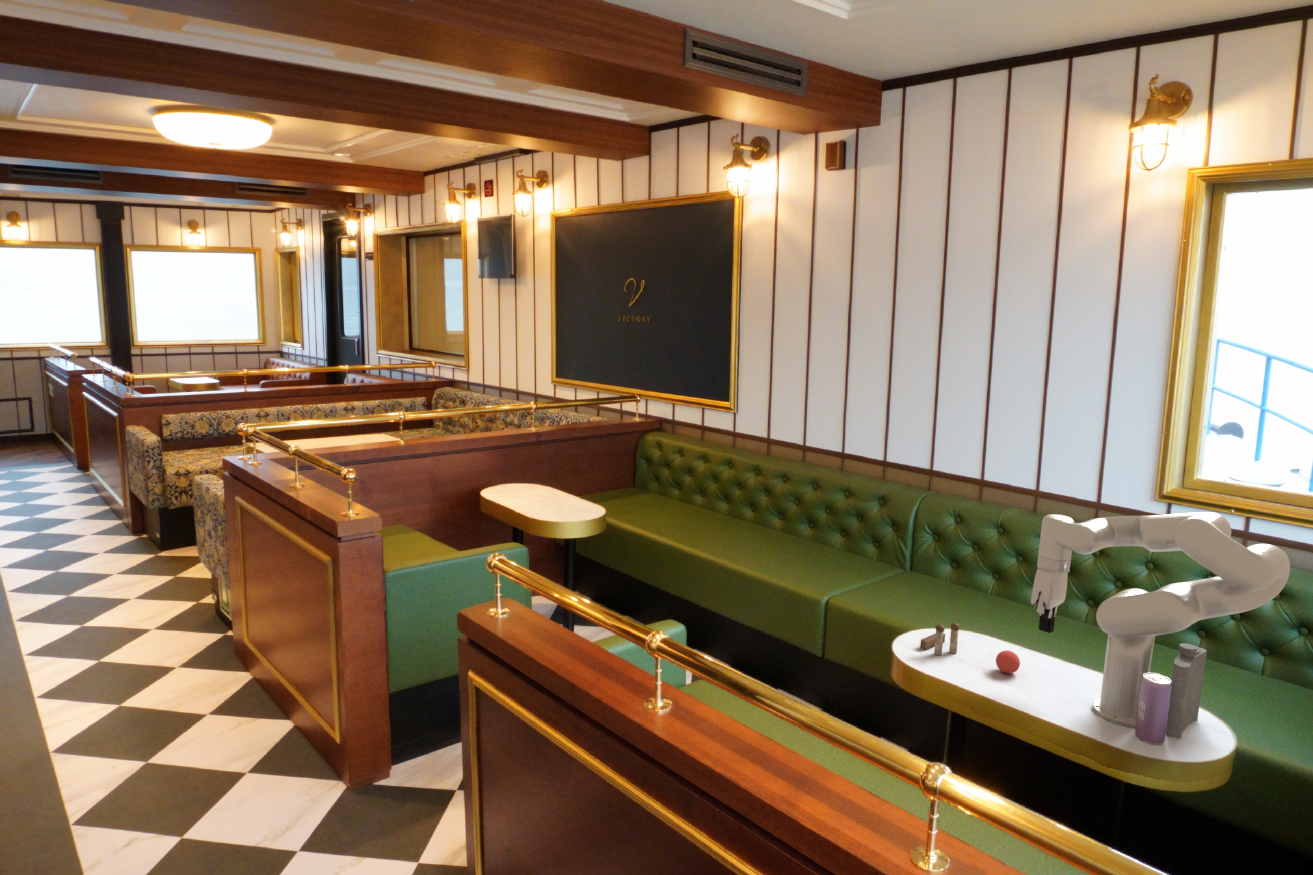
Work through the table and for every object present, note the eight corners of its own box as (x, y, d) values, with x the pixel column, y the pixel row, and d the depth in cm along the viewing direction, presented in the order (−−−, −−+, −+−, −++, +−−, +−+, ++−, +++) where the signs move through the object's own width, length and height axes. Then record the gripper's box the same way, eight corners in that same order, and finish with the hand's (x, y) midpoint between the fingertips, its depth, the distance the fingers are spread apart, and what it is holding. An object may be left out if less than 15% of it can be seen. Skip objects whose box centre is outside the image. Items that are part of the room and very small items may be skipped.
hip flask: (1178, 739, 188) (1189, 658, 184) (1158, 732, 190) (1169, 652, 187) (1199, 717, 198) (1209, 639, 195) (1180, 711, 201) (1190, 634, 198)
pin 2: (956, 651, 234) (959, 621, 232) (957, 654, 231) (960, 624, 230) (948, 650, 234) (950, 620, 233) (948, 653, 232) (951, 623, 231)
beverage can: (1170, 746, 185) (1178, 684, 182) (1143, 745, 185) (1151, 683, 182) (1154, 732, 191) (1162, 672, 188) (1129, 731, 191) (1136, 671, 188)
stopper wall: (944, 641, 240) (945, 633, 240) (926, 650, 234) (927, 641, 234) (938, 639, 242) (939, 631, 241) (920, 647, 236) (920, 639, 235)
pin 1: (942, 652, 232) (944, 623, 231) (942, 656, 230) (945, 626, 229) (933, 651, 233) (935, 622, 232) (933, 655, 231) (936, 625, 229)
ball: (1016, 668, 223) (1018, 648, 222) (1020, 678, 217) (1022, 657, 216) (993, 666, 224) (995, 645, 223) (996, 675, 219) (998, 654, 218)
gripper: (1052, 553, 216) (1044, 619, 219) (1025, 564, 206) (1017, 632, 210) (1081, 561, 210) (1073, 628, 213) (1055, 572, 201) (1047, 642, 204)
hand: (1045, 630), depth 211 cm, fingers closed
